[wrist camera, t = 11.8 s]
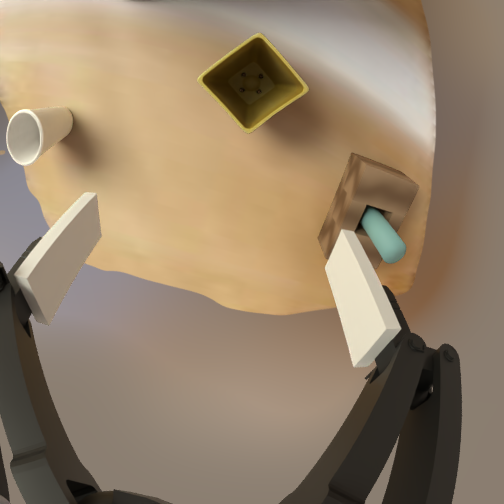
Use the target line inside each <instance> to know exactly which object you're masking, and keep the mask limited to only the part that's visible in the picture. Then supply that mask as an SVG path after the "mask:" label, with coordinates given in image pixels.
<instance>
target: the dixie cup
mask: <svg viewBox="0 0 504 504" xmlns="http://www.w3.org/2000/svg"><path fill="white" fill-rule="evenodd" d="M72 126H73V117H72V114H71V112H70V110H69V109H68V108H66V107H64V106H57V107H48V108H40V109H33V110H27V109H24V110H20V111H18V112H17V113H16V114H14V116H13V117H12V118H11V120H10V122H9V125H8V128H7V134H6V140H7V147H8V150H9V153H10V155H11V156H12V158H13V159H14V160H15V161H16V162H17V163H18V164H20V165H23V166H28V165H31V164H33V163H34V162H36V161H37V159H38V158H39V157H40V156H41V155H42V154H43V153H45V152H46V151H47V150H48V149H50V148H51V147H52V146H54V145H55V144H56V143H58V142H59V141H60V140H62V139H63V138H64V137H66V136H67V135H68V134H69V133H70V131H71V129H72Z"/></svg>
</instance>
